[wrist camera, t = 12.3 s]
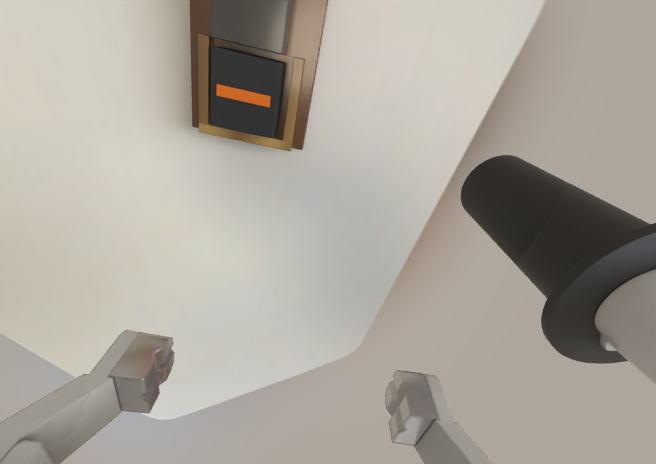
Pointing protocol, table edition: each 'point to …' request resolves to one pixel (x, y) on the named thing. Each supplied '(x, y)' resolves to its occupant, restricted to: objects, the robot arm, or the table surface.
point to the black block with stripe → (245, 91)
